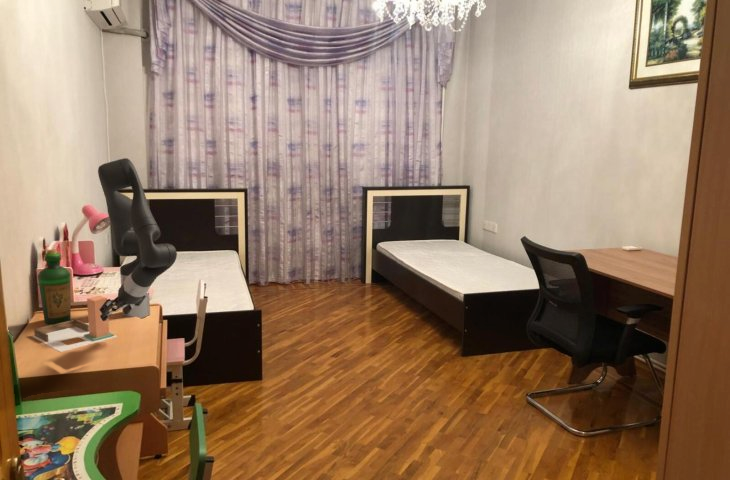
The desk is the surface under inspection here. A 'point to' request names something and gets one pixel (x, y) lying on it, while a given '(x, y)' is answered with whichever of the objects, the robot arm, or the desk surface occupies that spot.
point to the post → (97, 317)
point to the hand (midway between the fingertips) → (113, 315)
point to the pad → (98, 337)
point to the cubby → (59, 328)
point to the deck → (66, 334)
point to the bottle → (55, 290)
